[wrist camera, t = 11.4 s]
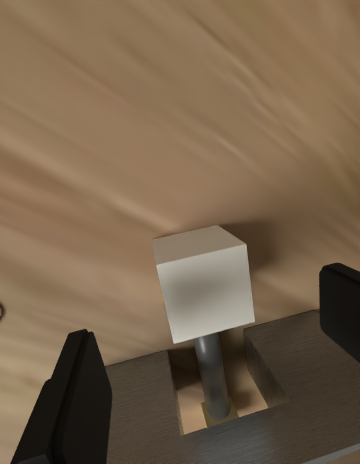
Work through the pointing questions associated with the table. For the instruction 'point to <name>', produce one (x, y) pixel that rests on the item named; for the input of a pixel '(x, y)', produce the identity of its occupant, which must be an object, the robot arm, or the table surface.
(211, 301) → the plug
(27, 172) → the table surface
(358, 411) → the block
